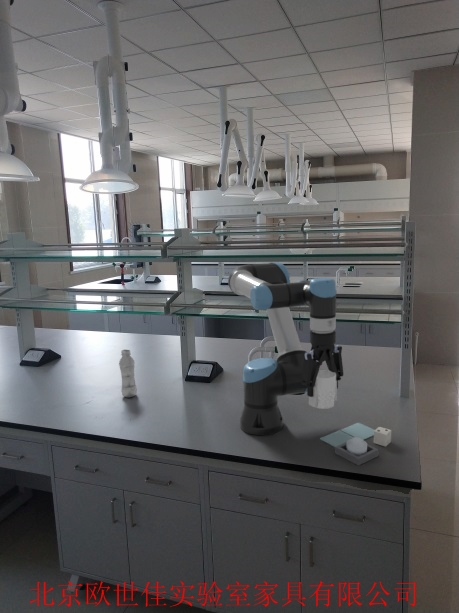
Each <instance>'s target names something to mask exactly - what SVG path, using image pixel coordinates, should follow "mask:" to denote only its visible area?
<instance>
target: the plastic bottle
mask: <svg viewBox="0 0 459 613" xmlns="http://www.w3.org/2000/svg"><path fill="white" fill-rule="evenodd" d="M120 356H121V358H120V359H119V362H118V367H119V369H120V375H121V389H120V390H121V395H122V397H124V398H132V397H133V398H134V397H135V396H136V395H137V392H138V387H137V384H136V379H135V360H134V358H133V357H132V356H131V349H129V348H128V349H122V350H121V355H120Z"/></svg>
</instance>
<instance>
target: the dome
mask: <svg viewBox="0 0 459 613" xmlns="http://www.w3.org/2000/svg"><path fill="white" fill-rule="evenodd" d="M367 444H368V443H367V441H365V440H362V439H361V438H358V437H354V438H352V439H349V440H348V441H347V450H346V451H348V452H350V453H352V454H354V455H356V456H361V455H363V454H365V453H367Z"/></svg>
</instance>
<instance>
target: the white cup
mask: <svg viewBox="0 0 459 613" xmlns="http://www.w3.org/2000/svg"><path fill="white" fill-rule="evenodd" d="M314 386H316V387H317V407H315V408H317V409H320V410H321V409H322V410H327V409H332V408H333V407H335V401H334V398H335V389H336V373H335V372H331V371H329V370H328V369H319V372H318V375H317V377H316V382H315V385H314Z"/></svg>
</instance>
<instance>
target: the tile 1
mask: <svg viewBox="0 0 459 613" xmlns="http://www.w3.org/2000/svg"><path fill="white" fill-rule="evenodd" d="M340 430H341V429H339V430H337V431H335V432H332V433H329V434H327V435H324V436H322V437H320V438H319V440H321V441H323V442H325V443H326V444H328V445H330V446H332V447H334V448H335V447H336V446H338V445H341V444H343V443H345V442H347V441H348V440H349V439H352V438H354V437H352V436H350V435H348V434H346V433H344V432H342V431H340Z"/></svg>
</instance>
